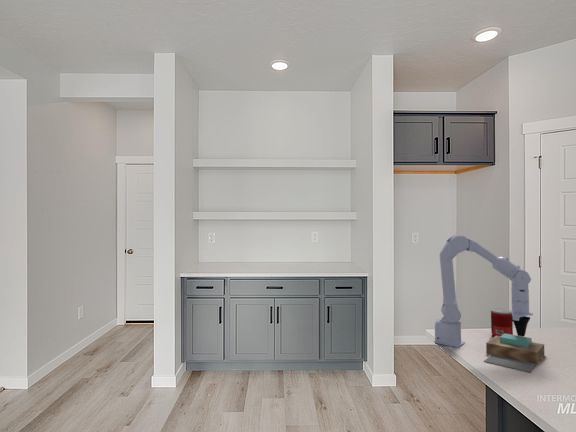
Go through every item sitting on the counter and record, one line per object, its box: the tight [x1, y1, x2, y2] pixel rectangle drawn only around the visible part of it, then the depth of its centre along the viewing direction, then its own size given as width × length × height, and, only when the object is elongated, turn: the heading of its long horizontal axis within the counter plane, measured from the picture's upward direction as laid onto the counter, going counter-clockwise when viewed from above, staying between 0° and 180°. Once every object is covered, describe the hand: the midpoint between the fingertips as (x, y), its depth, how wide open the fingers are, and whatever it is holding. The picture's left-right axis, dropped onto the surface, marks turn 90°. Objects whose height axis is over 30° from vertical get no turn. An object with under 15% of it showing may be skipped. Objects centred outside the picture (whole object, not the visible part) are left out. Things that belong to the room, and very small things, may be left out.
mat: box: [483, 354, 538, 374], centre depth 130 cm, size 14×9×1 cm, turn 45°
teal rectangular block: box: [500, 333, 533, 348], centre depth 140 cm, size 9×6×2 cm, turn 45°
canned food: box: [490, 308, 514, 338], centre depth 161 cm, size 8×8×11 cm
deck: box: [485, 336, 545, 365], centre depth 139 cm, size 16×12×4 cm
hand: (521, 335), depth 145 cm, fingers closed
